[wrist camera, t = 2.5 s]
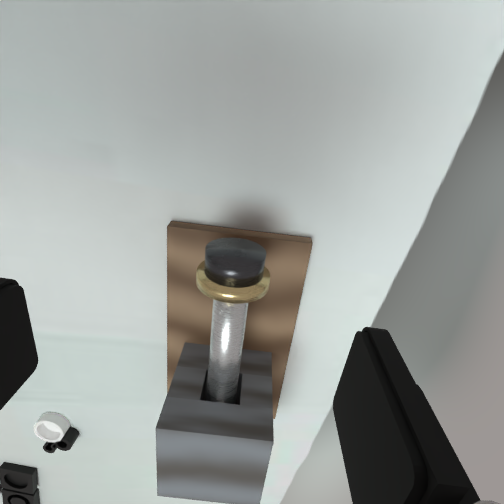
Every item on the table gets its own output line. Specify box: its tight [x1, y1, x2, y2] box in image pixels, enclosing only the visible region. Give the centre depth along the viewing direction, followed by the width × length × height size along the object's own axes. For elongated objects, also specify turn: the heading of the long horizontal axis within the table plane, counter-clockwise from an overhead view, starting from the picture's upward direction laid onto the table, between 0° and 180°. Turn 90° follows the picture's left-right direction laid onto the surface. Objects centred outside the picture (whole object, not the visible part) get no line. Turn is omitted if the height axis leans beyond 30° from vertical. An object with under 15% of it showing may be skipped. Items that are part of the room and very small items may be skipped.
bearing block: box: [156, 221, 312, 504], centre depth 32 cm, size 25×14×12 cm, turn 174°
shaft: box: [196, 238, 270, 404], centre depth 29 cm, size 19×6×6 cm, turn 174°
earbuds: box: [0, 412, 79, 504], centre depth 49 cm, size 20×25×3 cm
